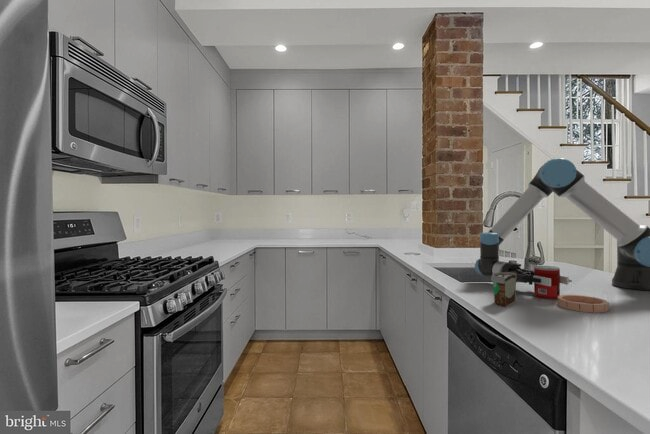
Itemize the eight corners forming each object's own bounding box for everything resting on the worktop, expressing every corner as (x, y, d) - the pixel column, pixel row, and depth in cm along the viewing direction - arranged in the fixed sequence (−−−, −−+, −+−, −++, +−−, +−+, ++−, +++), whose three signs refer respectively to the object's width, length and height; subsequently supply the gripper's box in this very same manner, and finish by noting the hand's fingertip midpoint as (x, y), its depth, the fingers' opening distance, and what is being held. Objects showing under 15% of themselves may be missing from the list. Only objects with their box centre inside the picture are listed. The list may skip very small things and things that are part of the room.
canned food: (563, 299, 127) (563, 268, 127) (538, 298, 129) (538, 268, 128) (554, 294, 135) (554, 265, 134) (531, 294, 136) (531, 265, 136)
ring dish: (584, 301, 125) (585, 294, 125) (619, 311, 112) (619, 304, 112) (548, 302, 124) (548, 295, 124) (578, 313, 111) (578, 305, 111)
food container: (498, 298, 131) (498, 270, 130) (516, 300, 126) (516, 272, 126) (485, 304, 122) (484, 275, 122) (504, 307, 118) (504, 277, 117)
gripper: (526, 278, 152) (579, 289, 130) (487, 282, 145) (537, 294, 124) (526, 261, 152) (579, 269, 130) (487, 264, 145) (537, 272, 123)
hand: (559, 281), depth 127 cm, fingers closed on canned food, 8 cm apart
